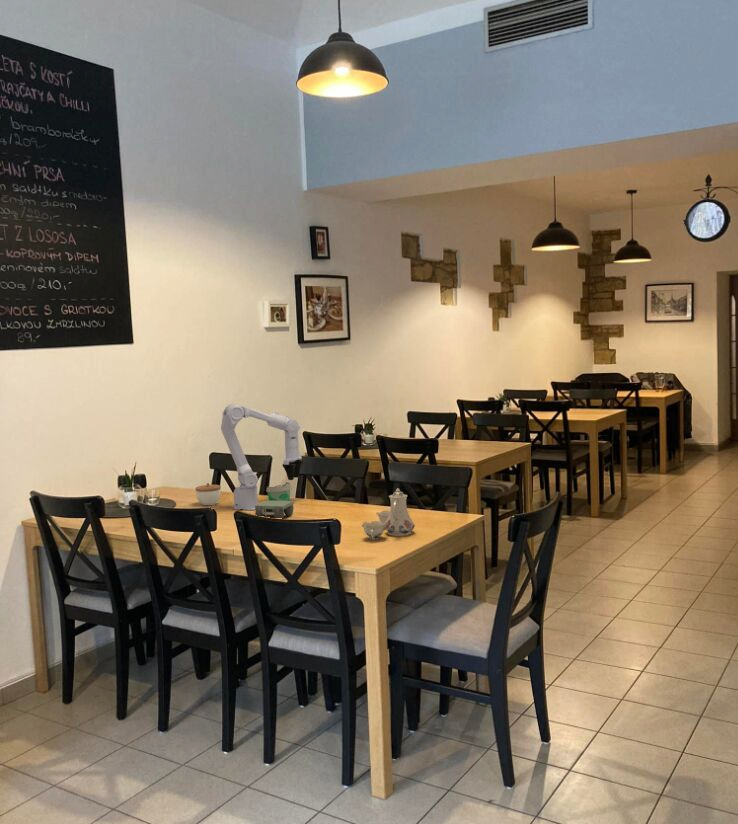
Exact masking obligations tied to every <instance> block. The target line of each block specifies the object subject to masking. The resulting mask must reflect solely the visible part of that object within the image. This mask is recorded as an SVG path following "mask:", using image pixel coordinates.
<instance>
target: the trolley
mask: <svg viewBox="0 0 738 824" xmlns="http://www.w3.org/2000/svg"><path fill="white" fill-rule="evenodd" d="M254 514H255V516H256V515H257V516H265V517H266V515H267V516H274V519H275V518H283V519H284V517H285V516H286V517H291V516H293V514H294V500H290V501H269V499H268V500H267V499H266V500H264V501H262V502H258V504H257V505H255V513H254Z"/></svg>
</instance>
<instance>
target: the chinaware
mask: <svg viewBox="0 0 738 824" xmlns="http://www.w3.org/2000/svg"><path fill="white" fill-rule="evenodd" d="M388 497H389V500H390V509H389V510H382V511H380V512H376V516H378V519H379V521H378V520H373V521H370V522H367V521H365V522H362V524H361V527H362V528H363V531H364V533H365V535H366V536H367V537H369V540H370V541H371V540H372V541H373V540H374V541H377V540H380V538H379V537H381V536H382V535H383V534H384V531H385V530H386V531H387V535H388V534H389V535H388V536H391V535H392V536H391V537H405V535H406V536H409V534H410V535H411V534H412V531H413V530H414V529H415V527H416V525H415V523H414V520H413V519H412V518H411V517H410V515H409V514H410V513H409V512H408V507H407V497H408V494H404V492H403V491H401V490H400V488H398V487H397V488H396V490H395V491H394V492H393V494H390V495H388Z"/></svg>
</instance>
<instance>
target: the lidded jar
mask: <svg viewBox="0 0 738 824" xmlns="http://www.w3.org/2000/svg"><path fill="white" fill-rule="evenodd" d="M194 489H195V495H196V499H197V501H198V502H199V504H200V505H201V506H203V505H212V506H216V505H217V503H218V502H219V501H220V499H221V491H222V490H221V489H222V487H221V485H219V484H210V483H209V482H207V483H206V484H205V485H203V484H202V485H199V486H196V487H195V488H194Z"/></svg>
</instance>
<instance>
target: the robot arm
mask: <svg viewBox="0 0 738 824" xmlns="http://www.w3.org/2000/svg"><path fill="white" fill-rule="evenodd" d="M250 417H251V418H255V419H256V420H261V421H264V422H266V424H267V425H268V426H269V427H271V428H274V429H278V430H281V431H284V449H285V452H284V453H285V458H284V459H283V463H281V465H282V467H283V468H284V471H285V473H286V477H287V479H288V481H293V480H294V478H297V479H299V477H300V474H301V468H302V465H303V464H304V460H302V459H303V458H302V454H300V448H299V446H300V445H299V433H298V432H299V430H300V427H301V426H300V423H299V422H298V421H297V420H296V419H292V418H290V417H289V416H283V415H282V414H280V413H279V412H271V413H269V414H268V413H265V412H262V411H259V410H257V409H255V408H252V407H248V406H243V405H237V404H233V403H231V404H227V406H226V407H225V408H224V410H223V411H222V417H221V425H220V430H221V433H222V436H223V437H224V440H225V443H226V445H227V447H228V449H229V452H230V455H231V456H232V459H233V462H234V464H235V466H236V471H237V474H238V475H237V480H238V482H239V483H240V485H239V486H236V487H235V489H234V491H233V504H234V506H233V510H237V511H238V510H240V509H243V510H242V511H244V510H246V511H254V510H255V511H256V509H255V505H257V504H259V501H258V499H259V498H258V482H259V479H258V476H257V474H256V473H254V472H253V470H252V468H251V466H250V465H249V463H248V460H247V458H246V455H245V453H244V451H243V448H242V445H241V443H240V440H239V439H238V436H237V433H236V431H235V429H236V427H237V425H238V423H239V422H241V420H242V419H243V418H245V419H246V418H250ZM240 511H241V510H240Z"/></svg>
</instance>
